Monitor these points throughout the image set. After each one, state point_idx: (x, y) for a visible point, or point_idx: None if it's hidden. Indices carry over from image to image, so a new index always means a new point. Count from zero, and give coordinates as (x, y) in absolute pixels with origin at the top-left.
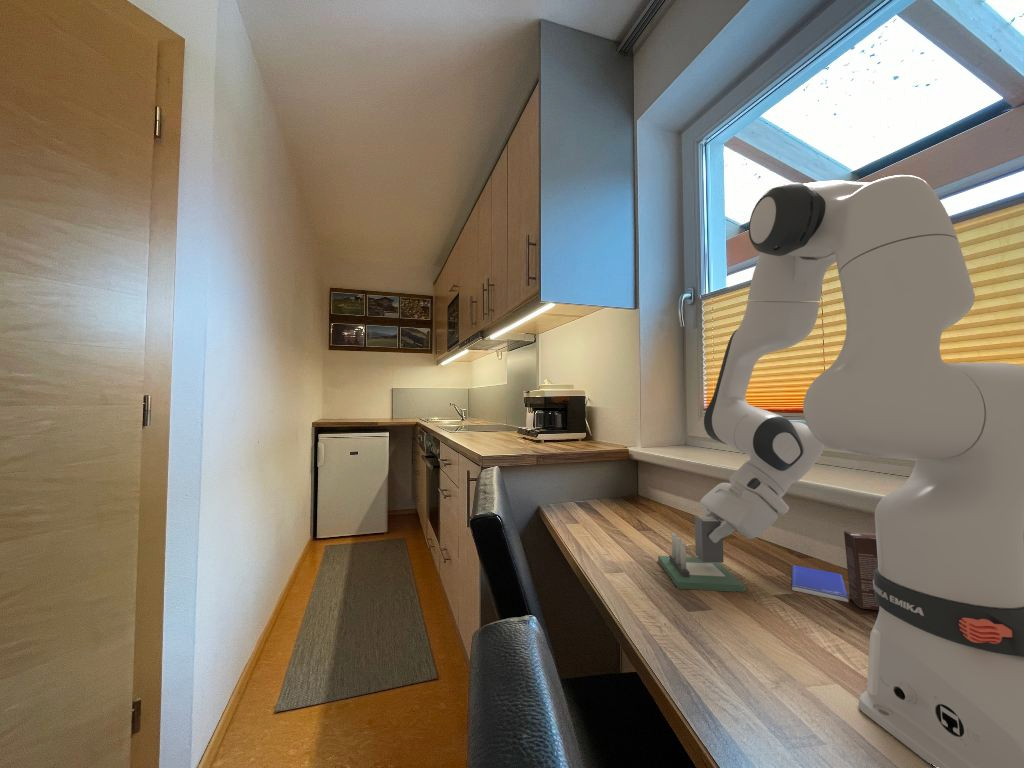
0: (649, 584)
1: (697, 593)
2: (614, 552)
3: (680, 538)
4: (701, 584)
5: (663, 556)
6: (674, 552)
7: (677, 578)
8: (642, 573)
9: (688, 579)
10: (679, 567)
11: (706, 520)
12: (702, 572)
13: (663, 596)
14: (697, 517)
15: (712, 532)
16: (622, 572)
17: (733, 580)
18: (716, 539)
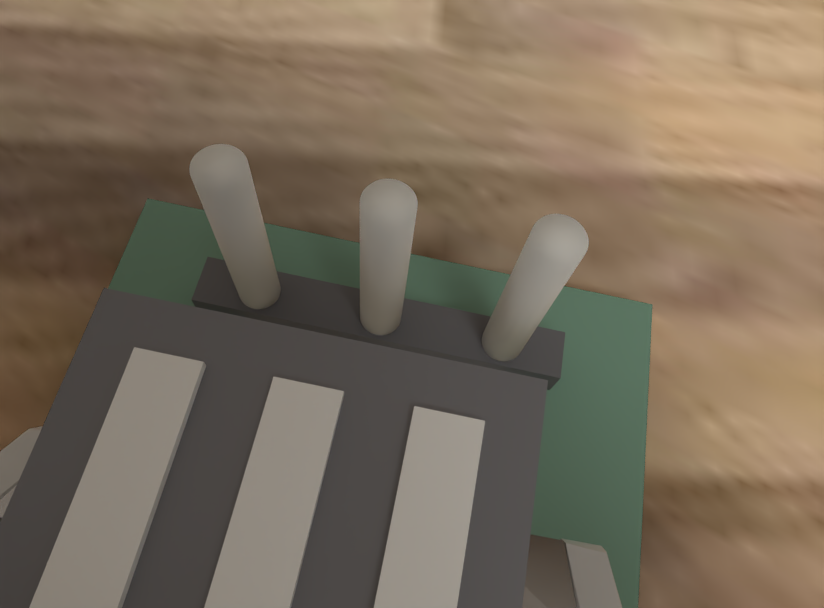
0: (254, 102)
1: (63, 302)
2: (780, 114)
3: (387, 226)
4: None
5: (635, 337)
6: (493, 312)
7: (200, 224)
8: (416, 131)
9: (168, 288)
10: (295, 276)
11: (107, 420)
12: None
13: (89, 102)
14: (423, 378)
15: (3, 477)
16: (439, 40)
17: None
18: None
